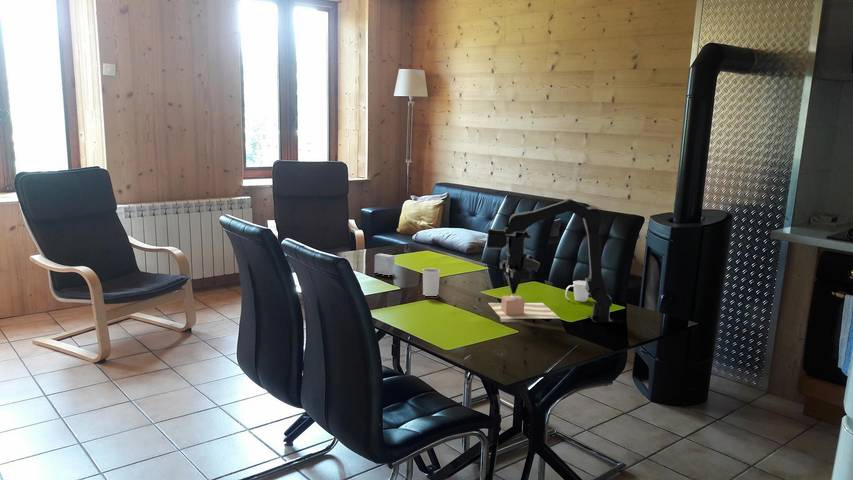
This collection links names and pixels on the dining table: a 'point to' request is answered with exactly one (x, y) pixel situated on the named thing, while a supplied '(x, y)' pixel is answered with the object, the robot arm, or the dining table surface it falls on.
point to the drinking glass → (431, 281)
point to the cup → (579, 291)
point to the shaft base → (529, 312)
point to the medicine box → (384, 264)
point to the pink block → (512, 305)
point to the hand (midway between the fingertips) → (513, 293)
